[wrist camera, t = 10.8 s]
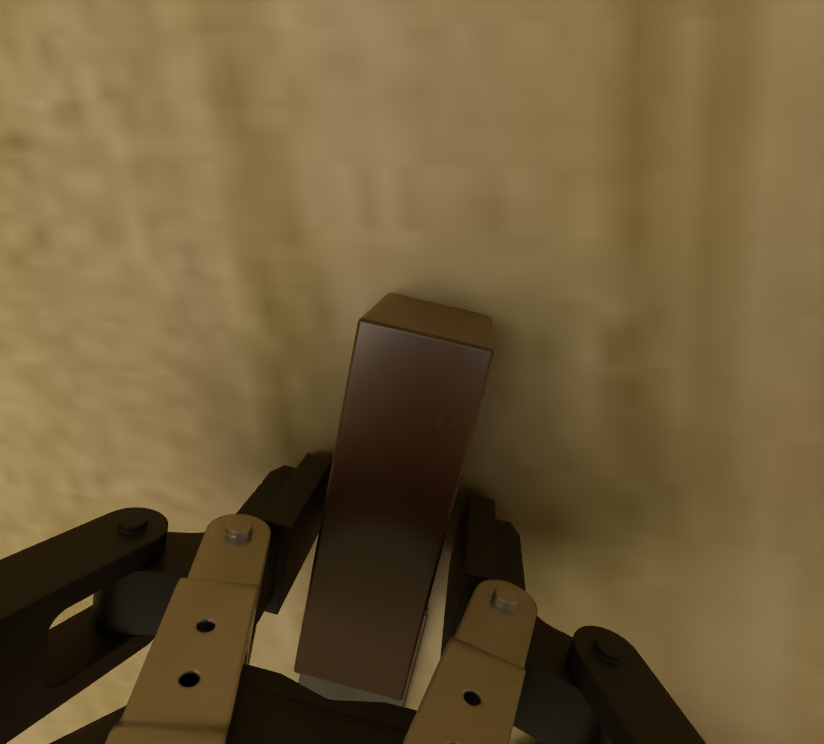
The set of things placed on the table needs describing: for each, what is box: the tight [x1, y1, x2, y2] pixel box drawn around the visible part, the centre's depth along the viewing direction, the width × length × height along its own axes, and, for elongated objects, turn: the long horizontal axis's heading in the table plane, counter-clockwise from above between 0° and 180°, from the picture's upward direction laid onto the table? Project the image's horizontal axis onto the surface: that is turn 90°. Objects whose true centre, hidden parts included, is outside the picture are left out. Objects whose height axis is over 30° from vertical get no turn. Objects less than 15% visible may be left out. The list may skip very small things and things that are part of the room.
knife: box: [294, 293, 494, 707], centre depth 15 cm, size 20×3×3 cm, turn 168°
